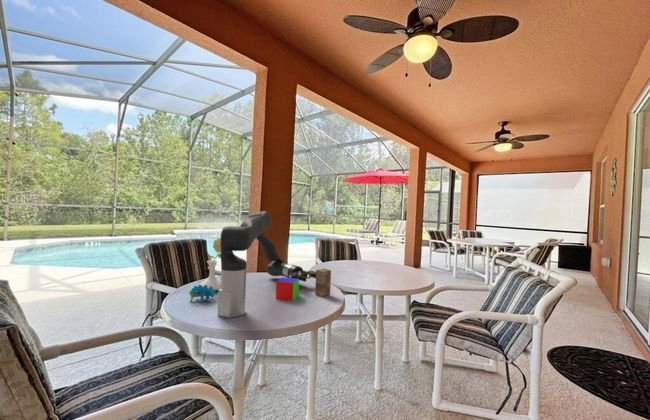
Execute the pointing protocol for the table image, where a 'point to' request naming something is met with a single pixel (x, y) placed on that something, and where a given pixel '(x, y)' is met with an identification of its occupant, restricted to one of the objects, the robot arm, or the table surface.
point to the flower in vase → (213, 268)
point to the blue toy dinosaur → (201, 292)
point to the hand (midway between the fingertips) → (312, 278)
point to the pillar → (323, 282)
